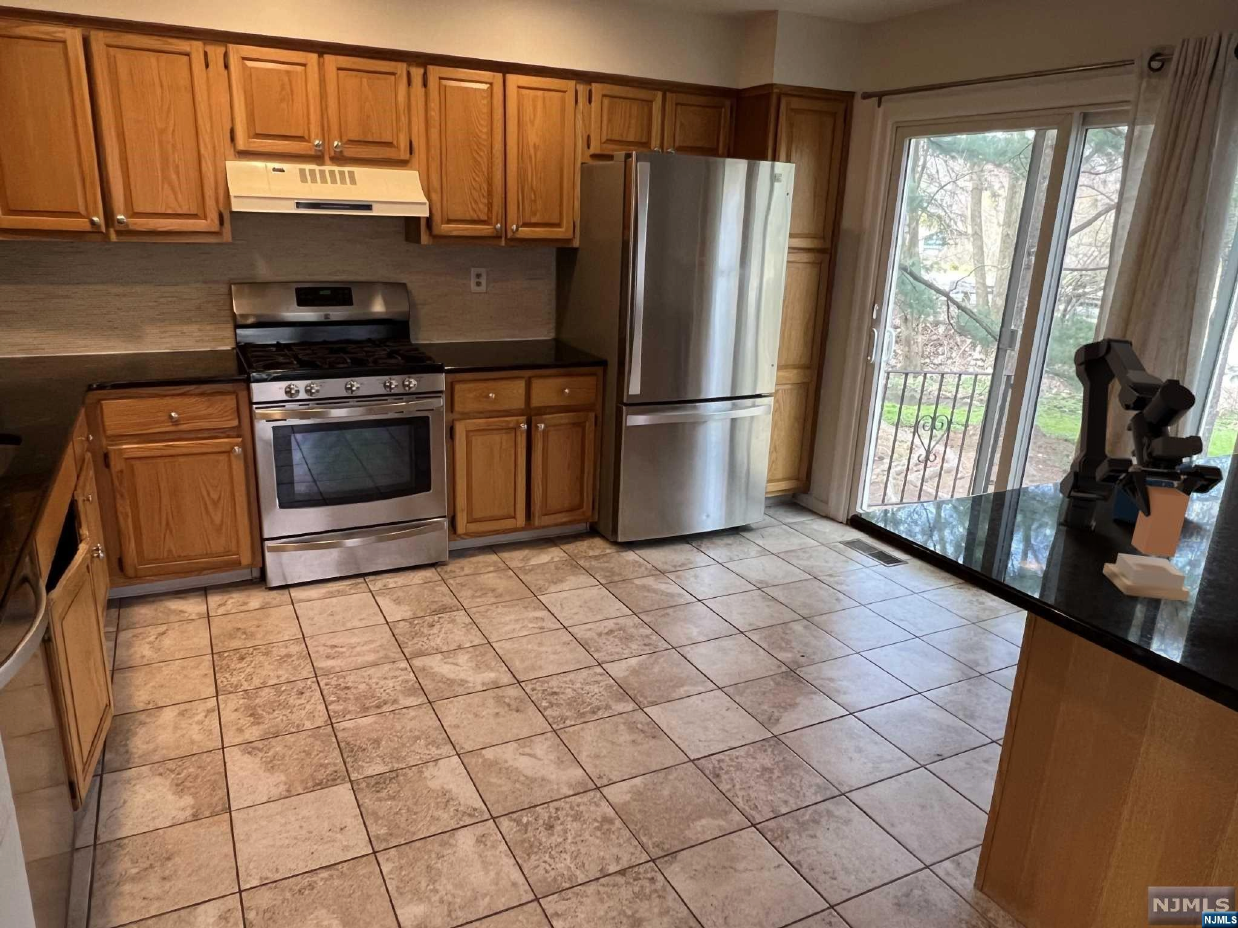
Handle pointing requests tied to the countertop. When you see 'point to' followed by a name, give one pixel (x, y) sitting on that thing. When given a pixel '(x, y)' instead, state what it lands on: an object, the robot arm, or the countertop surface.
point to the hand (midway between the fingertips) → (1164, 517)
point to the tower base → (1142, 586)
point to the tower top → (1150, 571)
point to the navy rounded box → (1128, 509)
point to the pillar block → (1161, 522)
